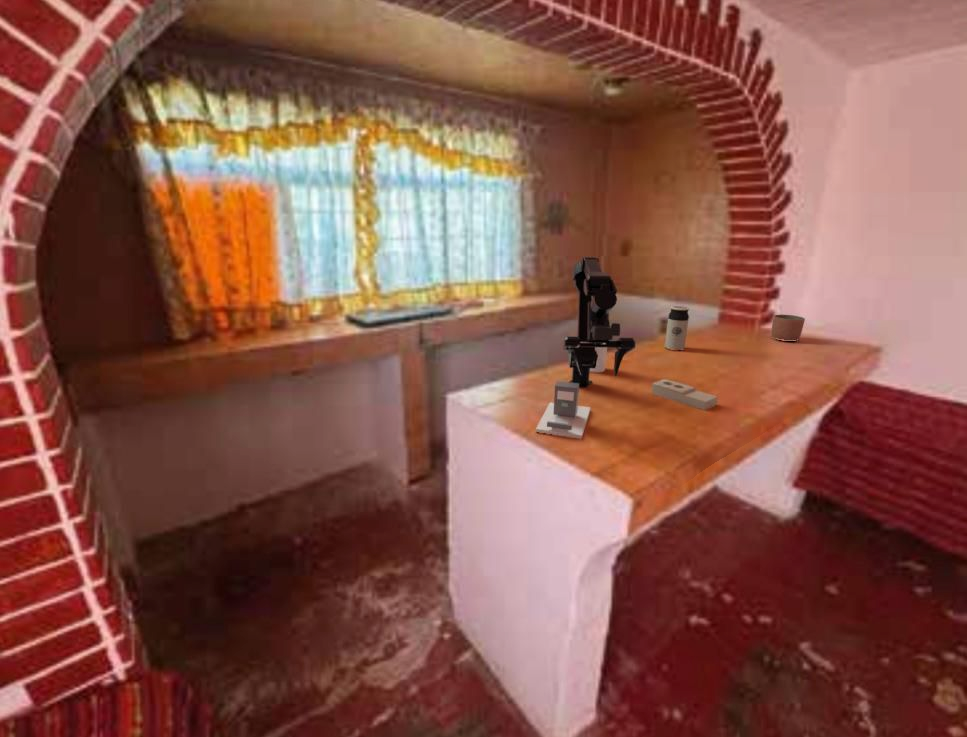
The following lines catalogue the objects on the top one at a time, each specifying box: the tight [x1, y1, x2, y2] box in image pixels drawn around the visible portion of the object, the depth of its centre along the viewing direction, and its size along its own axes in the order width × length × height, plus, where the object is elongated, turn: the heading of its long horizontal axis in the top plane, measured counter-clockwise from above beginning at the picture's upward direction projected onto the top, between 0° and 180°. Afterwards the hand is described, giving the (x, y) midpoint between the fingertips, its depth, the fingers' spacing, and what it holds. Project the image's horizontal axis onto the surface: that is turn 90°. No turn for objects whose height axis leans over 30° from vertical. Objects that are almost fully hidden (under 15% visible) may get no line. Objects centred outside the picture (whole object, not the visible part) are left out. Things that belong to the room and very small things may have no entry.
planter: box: [771, 314, 806, 341], centre depth 224 cm, size 12×12×11 cm
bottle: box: [590, 343, 608, 374], centre depth 176 cm, size 8×8×30 cm
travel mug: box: [664, 305, 690, 351], centre depth 207 cm, size 8×8×18 cm
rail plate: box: [535, 402, 591, 440], centre depth 135 cm, size 20×12×3 cm, turn 162°
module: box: [553, 380, 580, 417], centre depth 134 cm, size 5×6×8 cm
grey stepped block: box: [651, 378, 718, 411], centre depth 152 cm, size 7×4×18 cm
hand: (598, 375), depth 132 cm, fingers open, 9 cm apart
